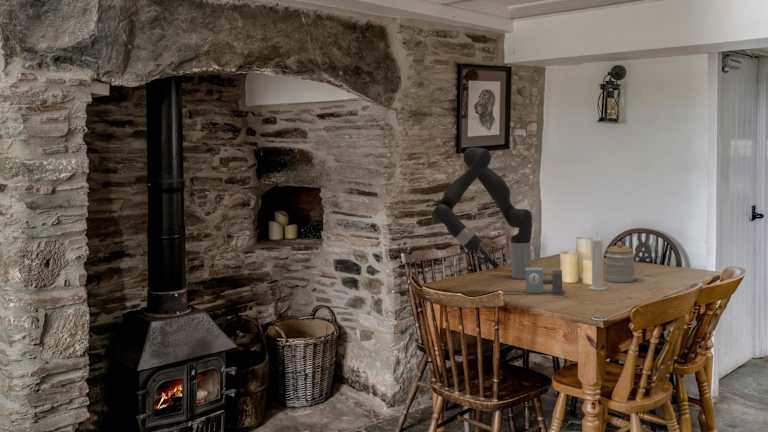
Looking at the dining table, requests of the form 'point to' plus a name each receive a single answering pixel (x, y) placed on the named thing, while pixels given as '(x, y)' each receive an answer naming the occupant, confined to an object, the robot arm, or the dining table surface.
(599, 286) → the candle
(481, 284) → the dining table surface
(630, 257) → the jar
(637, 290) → the dining table surface
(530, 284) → the grey box with emblem
